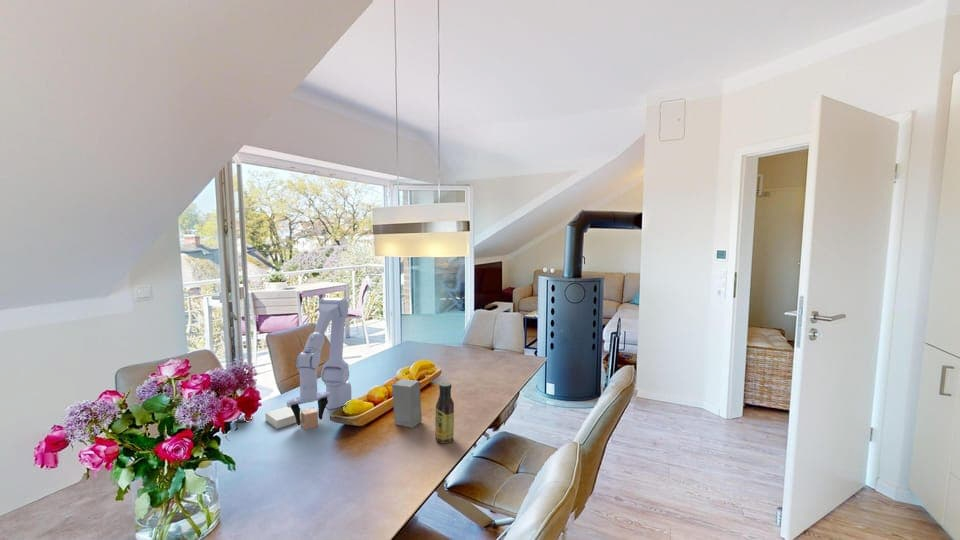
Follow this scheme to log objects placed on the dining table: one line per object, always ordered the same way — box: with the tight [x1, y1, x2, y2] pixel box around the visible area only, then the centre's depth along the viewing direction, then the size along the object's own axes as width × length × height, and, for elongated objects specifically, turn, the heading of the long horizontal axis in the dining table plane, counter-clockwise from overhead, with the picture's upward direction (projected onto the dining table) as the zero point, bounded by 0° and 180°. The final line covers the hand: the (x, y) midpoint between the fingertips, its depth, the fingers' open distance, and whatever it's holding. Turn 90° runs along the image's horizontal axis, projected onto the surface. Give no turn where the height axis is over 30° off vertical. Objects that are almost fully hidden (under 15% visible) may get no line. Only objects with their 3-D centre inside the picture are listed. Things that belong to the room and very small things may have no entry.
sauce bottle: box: [434, 381, 455, 444], centre depth 139 cm, size 6×6×20 cm
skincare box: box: [391, 378, 423, 429], centre depth 152 cm, size 8×7×16 cm
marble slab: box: [265, 406, 302, 430], centre depth 154 cm, size 10×10×3 cm
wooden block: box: [300, 407, 319, 430], centre depth 150 cm, size 5×5×6 cm
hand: (309, 421), depth 150 cm, fingers open, 7 cm apart
